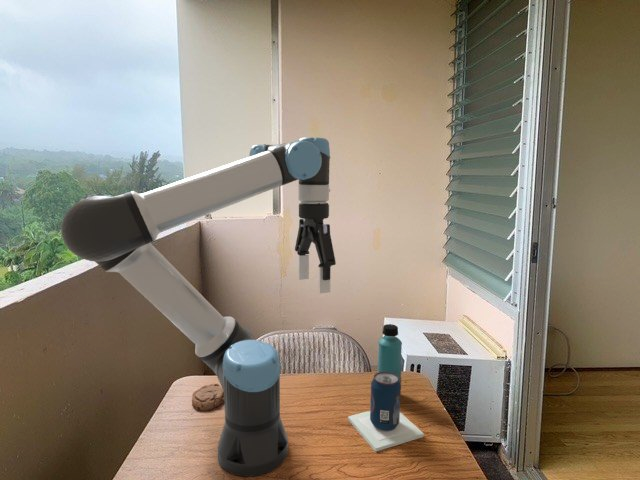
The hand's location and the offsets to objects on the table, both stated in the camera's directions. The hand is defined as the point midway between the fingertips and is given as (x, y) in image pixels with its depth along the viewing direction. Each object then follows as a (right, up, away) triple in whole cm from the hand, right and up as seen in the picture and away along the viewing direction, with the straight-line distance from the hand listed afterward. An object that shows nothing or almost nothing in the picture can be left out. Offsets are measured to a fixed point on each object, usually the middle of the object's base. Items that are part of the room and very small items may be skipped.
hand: (313, 285), depth 105 cm
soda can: (+17, -33, -7) cm, 37 cm away
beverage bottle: (+20, -31, +8) cm, 38 cm away
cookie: (-28, -32, +5) cm, 42 cm away
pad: (+17, -33, -7) cm, 38 cm away
